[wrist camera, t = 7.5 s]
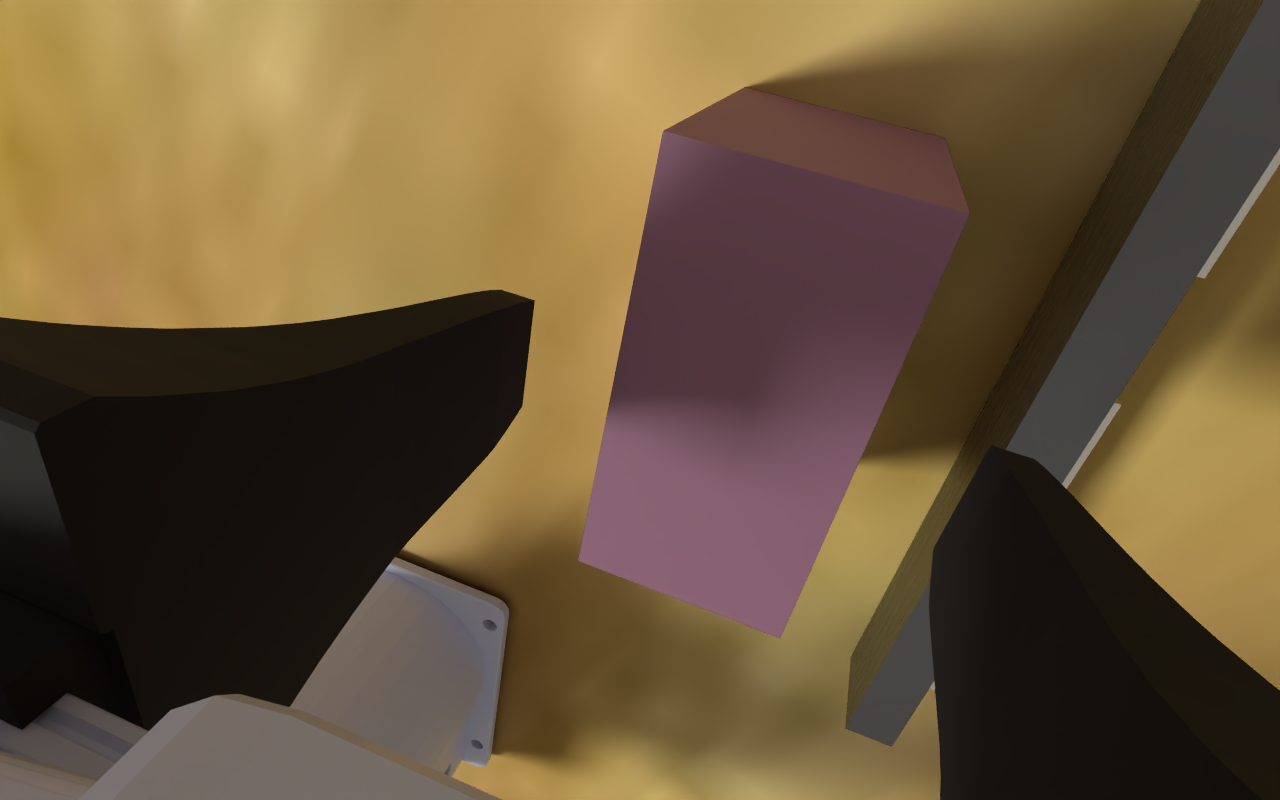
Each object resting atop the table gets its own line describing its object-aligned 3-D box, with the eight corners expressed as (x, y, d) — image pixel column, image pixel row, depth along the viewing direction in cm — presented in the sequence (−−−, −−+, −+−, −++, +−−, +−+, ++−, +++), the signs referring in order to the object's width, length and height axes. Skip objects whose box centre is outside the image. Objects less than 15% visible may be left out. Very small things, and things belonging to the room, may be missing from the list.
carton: (952, 139, 14) (982, 217, 9) (819, 463, 18) (788, 641, 13) (745, 87, 14) (663, 131, 9) (664, 411, 19) (577, 561, 14)
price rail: (903, 677, 20) (902, 750, 18) (850, 657, 20) (845, 728, 18) (1359, -72, 11) (1464, -89, 9) (1250, -92, 11) (1328, -113, 9)
